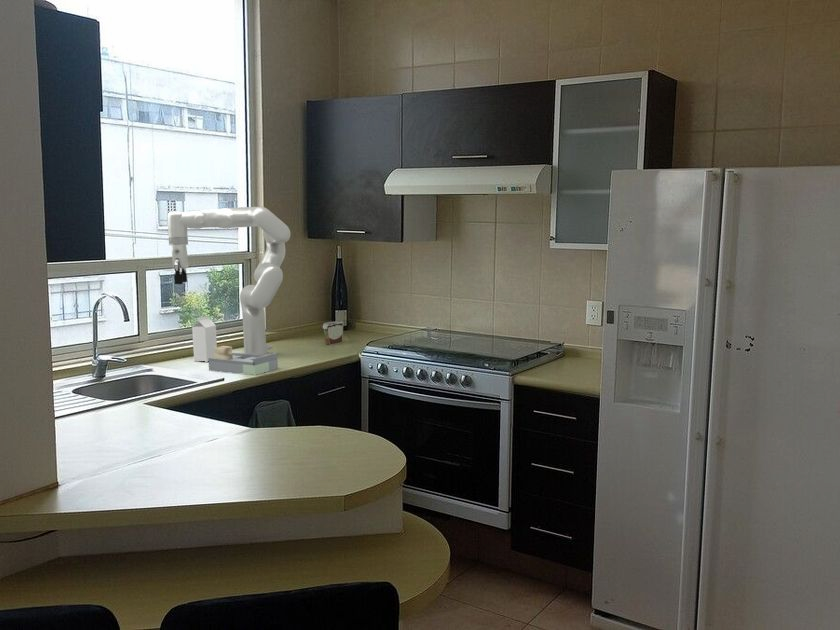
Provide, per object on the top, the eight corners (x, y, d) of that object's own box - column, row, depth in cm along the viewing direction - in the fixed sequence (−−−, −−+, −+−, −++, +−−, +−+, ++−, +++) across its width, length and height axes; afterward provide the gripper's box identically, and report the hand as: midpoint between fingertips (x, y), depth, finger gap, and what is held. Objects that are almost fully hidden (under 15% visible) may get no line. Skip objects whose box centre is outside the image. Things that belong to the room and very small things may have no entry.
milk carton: (217, 359, 350) (215, 316, 347) (207, 362, 344) (204, 318, 341) (204, 358, 353) (202, 315, 350) (193, 361, 346) (191, 317, 344)
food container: (335, 341, 393) (334, 320, 392) (344, 342, 390) (343, 321, 388) (317, 344, 383) (316, 324, 382) (327, 345, 380) (326, 324, 378)
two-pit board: (232, 364, 338) (231, 349, 337) (277, 368, 327) (277, 352, 326) (209, 370, 326) (208, 354, 325) (255, 375, 315) (254, 358, 314)
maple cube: (223, 358, 331) (222, 346, 330) (232, 358, 329) (232, 346, 328) (214, 360, 327) (214, 347, 326) (224, 361, 324) (223, 348, 324)
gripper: (184, 242, 324) (186, 284, 326) (191, 240, 341) (193, 280, 343) (165, 242, 323) (167, 285, 325) (172, 241, 340) (175, 281, 342)
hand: (180, 282), depth 334 cm, fingers open, 9 cm apart
